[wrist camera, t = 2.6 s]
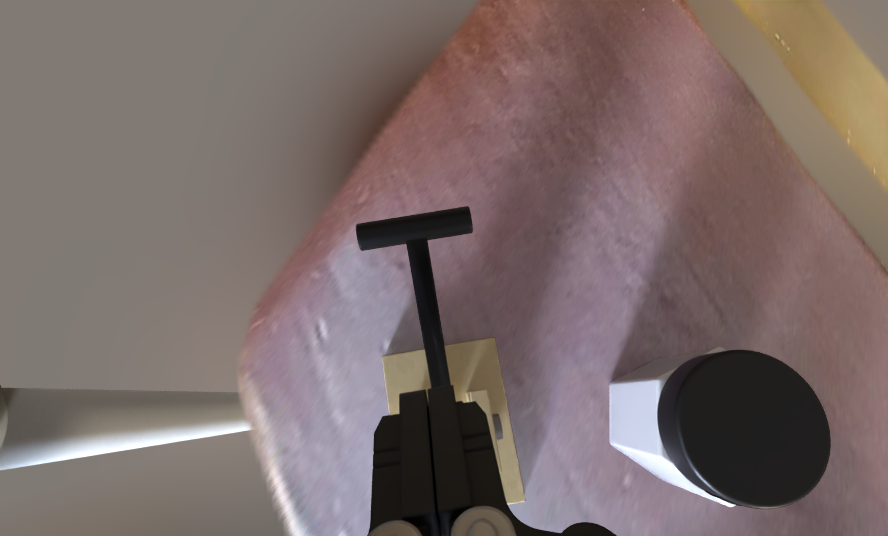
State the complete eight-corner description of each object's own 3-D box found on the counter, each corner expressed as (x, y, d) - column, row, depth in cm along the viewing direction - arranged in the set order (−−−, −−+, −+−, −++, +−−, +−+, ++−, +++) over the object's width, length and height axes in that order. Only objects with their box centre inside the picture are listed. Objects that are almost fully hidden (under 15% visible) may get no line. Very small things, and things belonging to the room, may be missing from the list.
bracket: (384, 357, 38) (353, 340, 27) (493, 338, 39) (509, 314, 27) (404, 518, 35) (380, 576, 24) (523, 498, 36) (555, 546, 24)
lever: (359, 222, 26) (353, 225, 24) (466, 205, 26) (470, 207, 24) (402, 454, 29) (400, 478, 26) (500, 437, 29) (507, 459, 26)
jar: (637, 496, 35) (725, 544, 24) (582, 393, 37) (639, 391, 26) (739, 442, 36) (873, 464, 25) (681, 344, 38) (779, 321, 27)
